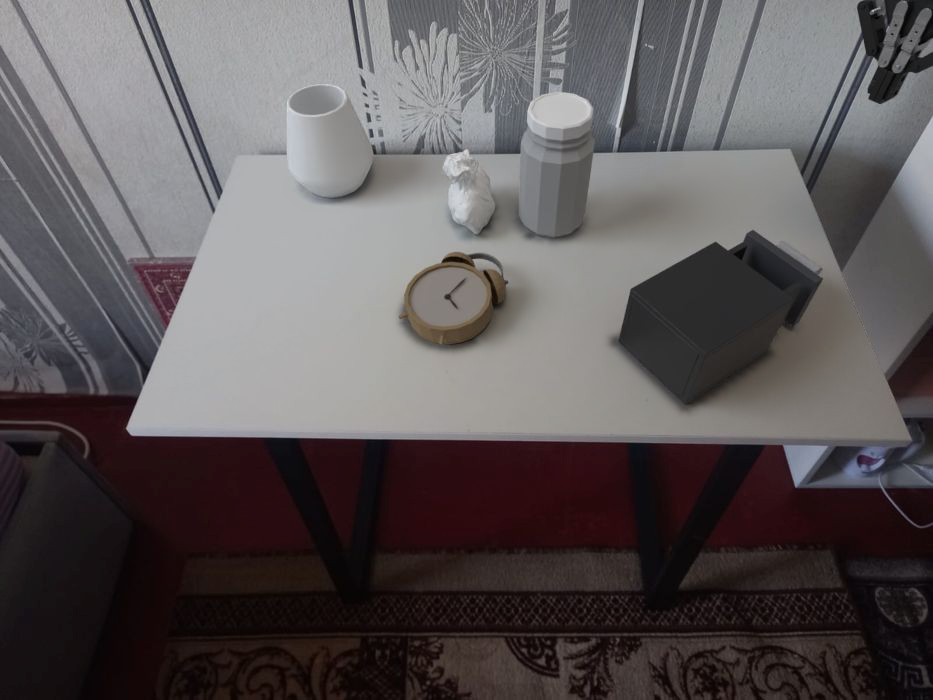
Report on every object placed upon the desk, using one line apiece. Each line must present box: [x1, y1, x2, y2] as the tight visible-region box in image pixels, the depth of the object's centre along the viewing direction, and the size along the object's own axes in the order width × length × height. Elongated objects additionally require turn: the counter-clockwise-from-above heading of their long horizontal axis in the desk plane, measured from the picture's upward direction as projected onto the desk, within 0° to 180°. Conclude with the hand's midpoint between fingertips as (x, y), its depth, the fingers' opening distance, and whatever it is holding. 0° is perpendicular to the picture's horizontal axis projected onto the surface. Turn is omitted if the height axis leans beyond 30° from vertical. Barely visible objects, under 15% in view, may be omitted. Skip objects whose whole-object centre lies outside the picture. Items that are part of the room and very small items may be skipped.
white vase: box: [286, 83, 375, 199], centre depth 99 cm, size 13×13×14 cm
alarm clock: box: [398, 251, 509, 346], centre depth 85 cm, size 11×5×15 cm
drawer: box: [727, 229, 824, 328], centre depth 80 cm, size 17×10×8 cm, turn 123°
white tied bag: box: [441, 148, 496, 235], centre depth 94 cm, size 12×8×11 cm
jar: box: [517, 91, 596, 239], centre depth 90 cm, size 10×10×18 cm
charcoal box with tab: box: [618, 241, 794, 406], centre depth 77 cm, size 14×12×10 cm
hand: (877, 100), depth 75 cm, fingers closed
